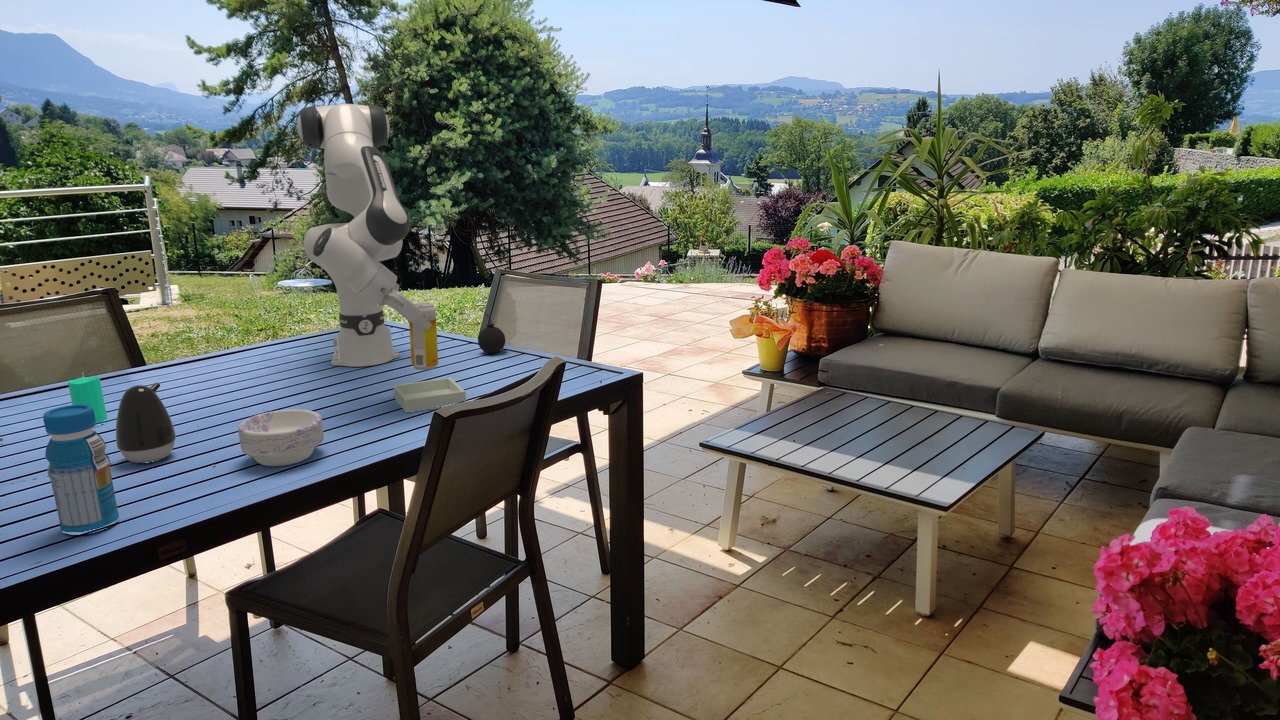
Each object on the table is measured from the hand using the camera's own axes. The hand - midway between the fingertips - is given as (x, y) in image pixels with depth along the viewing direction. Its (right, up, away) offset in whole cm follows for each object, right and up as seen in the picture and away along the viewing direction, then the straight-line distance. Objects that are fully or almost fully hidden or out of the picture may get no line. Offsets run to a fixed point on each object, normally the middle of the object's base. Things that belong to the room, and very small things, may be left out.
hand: (425, 324), depth 199 cm
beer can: (-1, -10, +2) cm, 11 cm away
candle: (-73, -23, -7) cm, 77 cm away
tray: (0, -18, +4) cm, 19 cm away
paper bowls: (-20, -28, -31) cm, 46 cm away
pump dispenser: (-47, -28, -30) cm, 63 cm away
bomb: (+7, -7, +49) cm, 50 cm away
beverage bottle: (-40, -36, -60) cm, 80 cm away
